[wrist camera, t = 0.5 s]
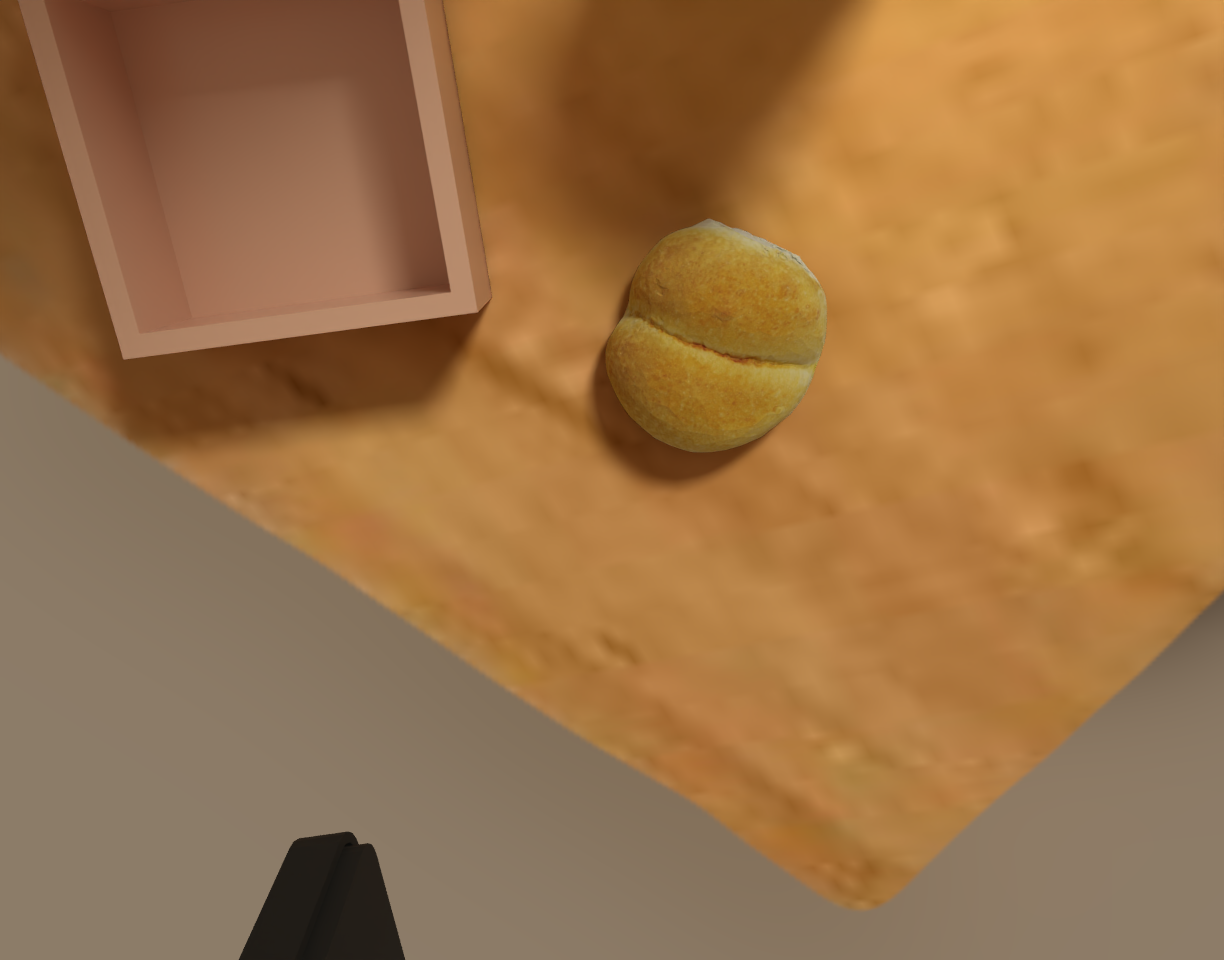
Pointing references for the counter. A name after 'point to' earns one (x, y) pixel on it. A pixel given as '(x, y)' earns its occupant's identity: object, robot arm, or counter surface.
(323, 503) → the counter surface
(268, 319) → the open box
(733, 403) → the bread roll
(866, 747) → the counter surface
